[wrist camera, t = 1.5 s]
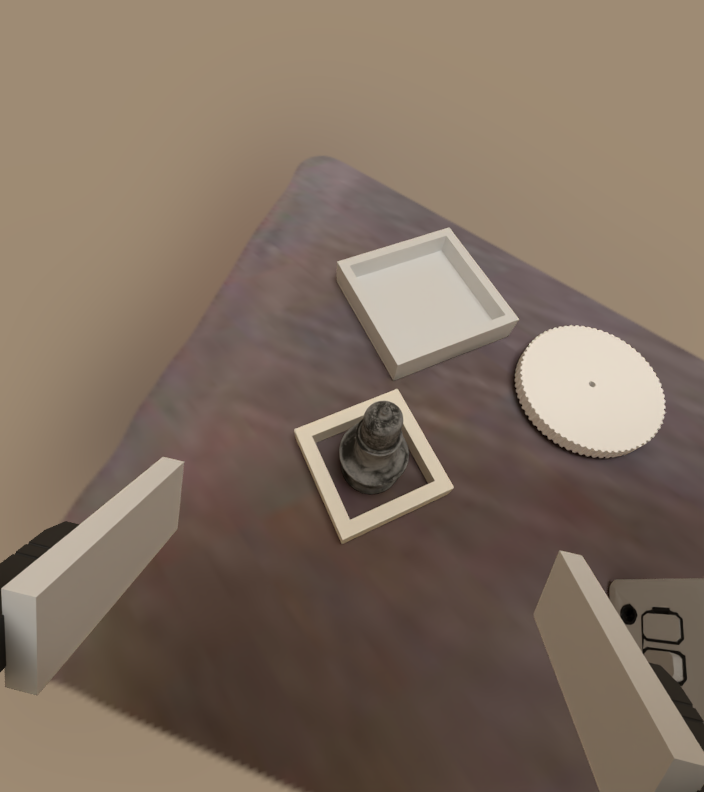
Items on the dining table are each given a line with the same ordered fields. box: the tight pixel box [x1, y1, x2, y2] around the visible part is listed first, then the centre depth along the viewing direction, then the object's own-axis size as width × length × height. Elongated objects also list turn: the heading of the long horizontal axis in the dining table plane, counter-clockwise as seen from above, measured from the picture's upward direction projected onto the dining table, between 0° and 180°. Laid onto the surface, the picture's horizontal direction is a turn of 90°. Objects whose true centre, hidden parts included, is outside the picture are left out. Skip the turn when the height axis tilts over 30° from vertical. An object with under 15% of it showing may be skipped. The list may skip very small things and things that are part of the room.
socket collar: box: [294, 389, 454, 544], centre depth 40 cm, size 10×10×2 cm
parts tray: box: [336, 228, 519, 381], centre depth 48 cm, size 14×14×3 cm
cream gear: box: [515, 325, 666, 458], centre depth 45 cm, size 14×14×2 cm
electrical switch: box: [609, 578, 704, 721], centre depth 31 cm, size 9×5×9 cm, turn 164°
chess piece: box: [339, 401, 409, 494], centre depth 35 cm, size 6×6×12 cm
